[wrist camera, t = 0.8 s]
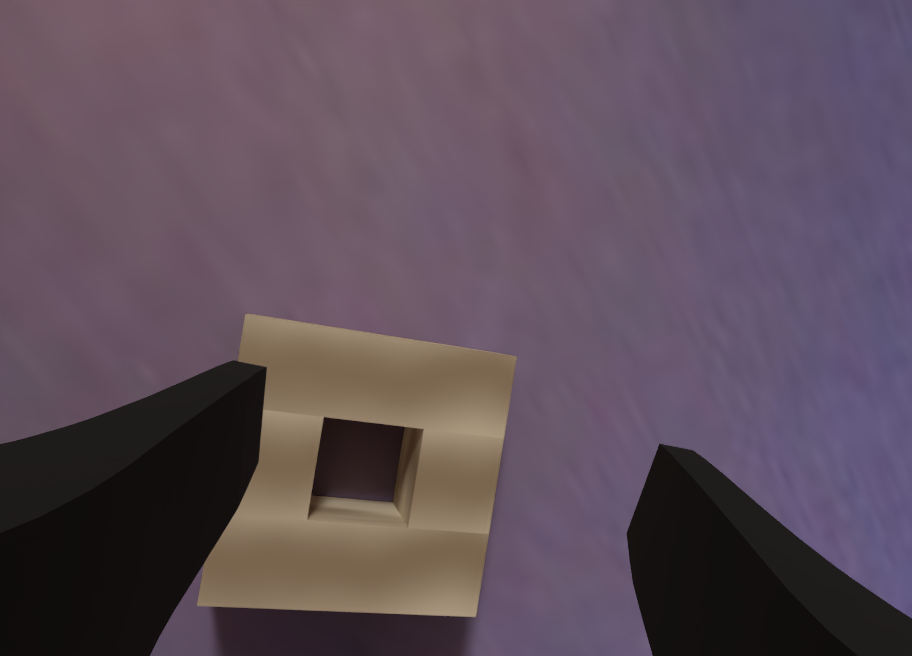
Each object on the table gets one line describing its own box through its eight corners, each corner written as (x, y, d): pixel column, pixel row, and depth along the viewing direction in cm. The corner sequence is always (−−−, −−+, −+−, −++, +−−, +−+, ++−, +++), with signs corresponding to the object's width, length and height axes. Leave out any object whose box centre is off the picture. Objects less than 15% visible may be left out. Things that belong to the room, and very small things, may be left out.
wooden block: (452, 581, 33) (475, 617, 29) (207, 568, 30) (197, 605, 26) (489, 351, 34) (516, 356, 30) (249, 313, 30) (245, 314, 27)
